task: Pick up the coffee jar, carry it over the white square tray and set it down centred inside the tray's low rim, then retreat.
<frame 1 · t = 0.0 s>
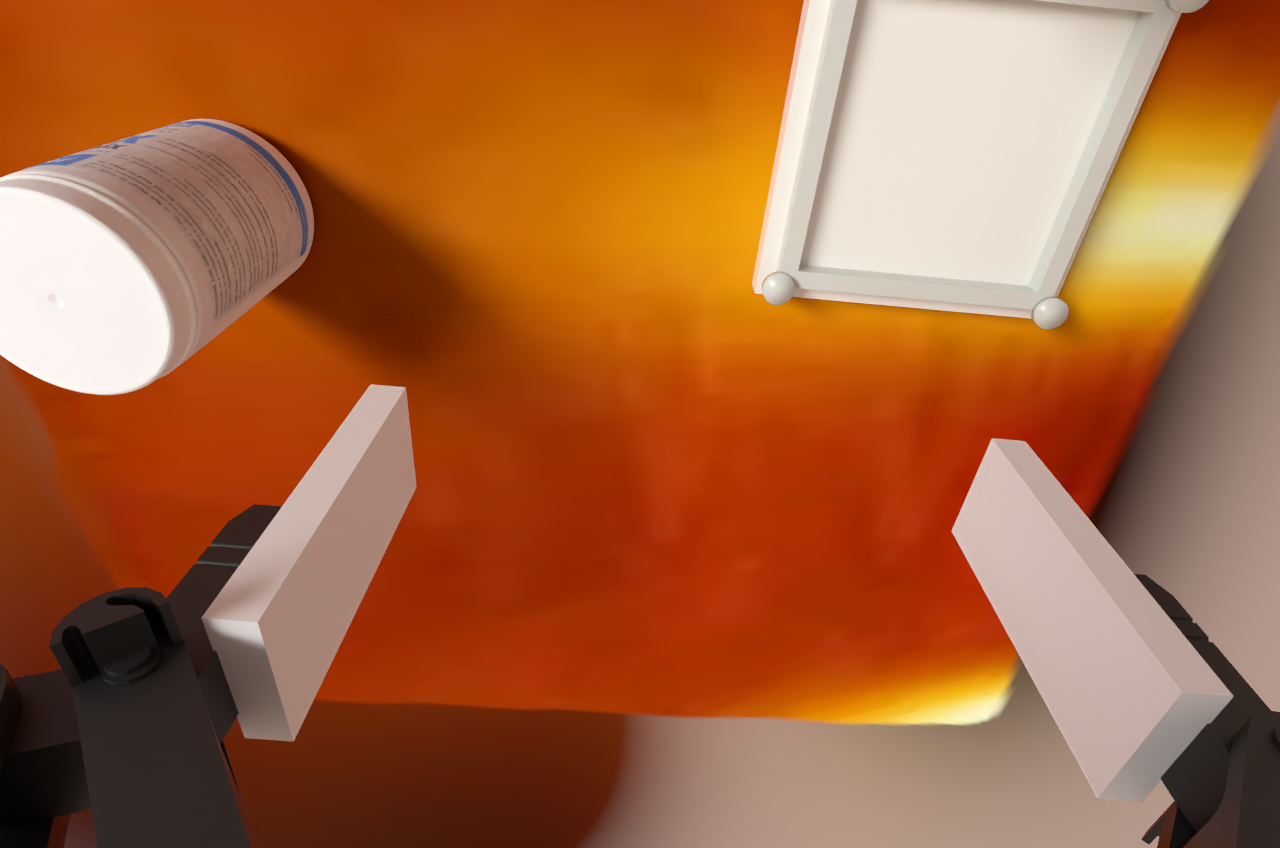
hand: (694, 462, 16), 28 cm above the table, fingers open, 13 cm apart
white square tray: (941, 144, 38), on the table
supplement tub: (240, 203, 41), on the table
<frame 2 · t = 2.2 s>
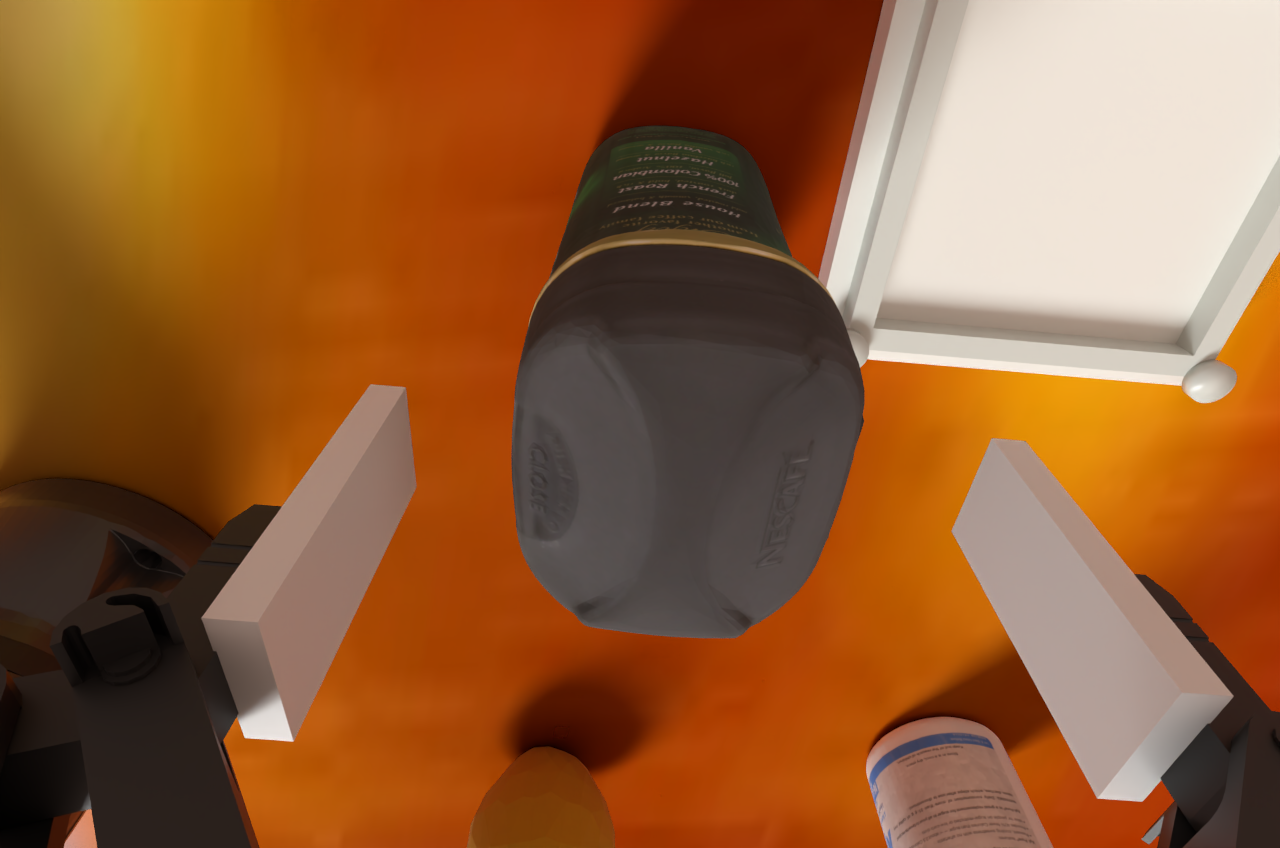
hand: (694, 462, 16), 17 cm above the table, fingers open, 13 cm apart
coffee jar: (663, 241, 30), on the table
white square tray: (1071, 156, 28), on the table
supplement tub: (930, 749, 49), on the table
apple: (552, 759, 50), on the table
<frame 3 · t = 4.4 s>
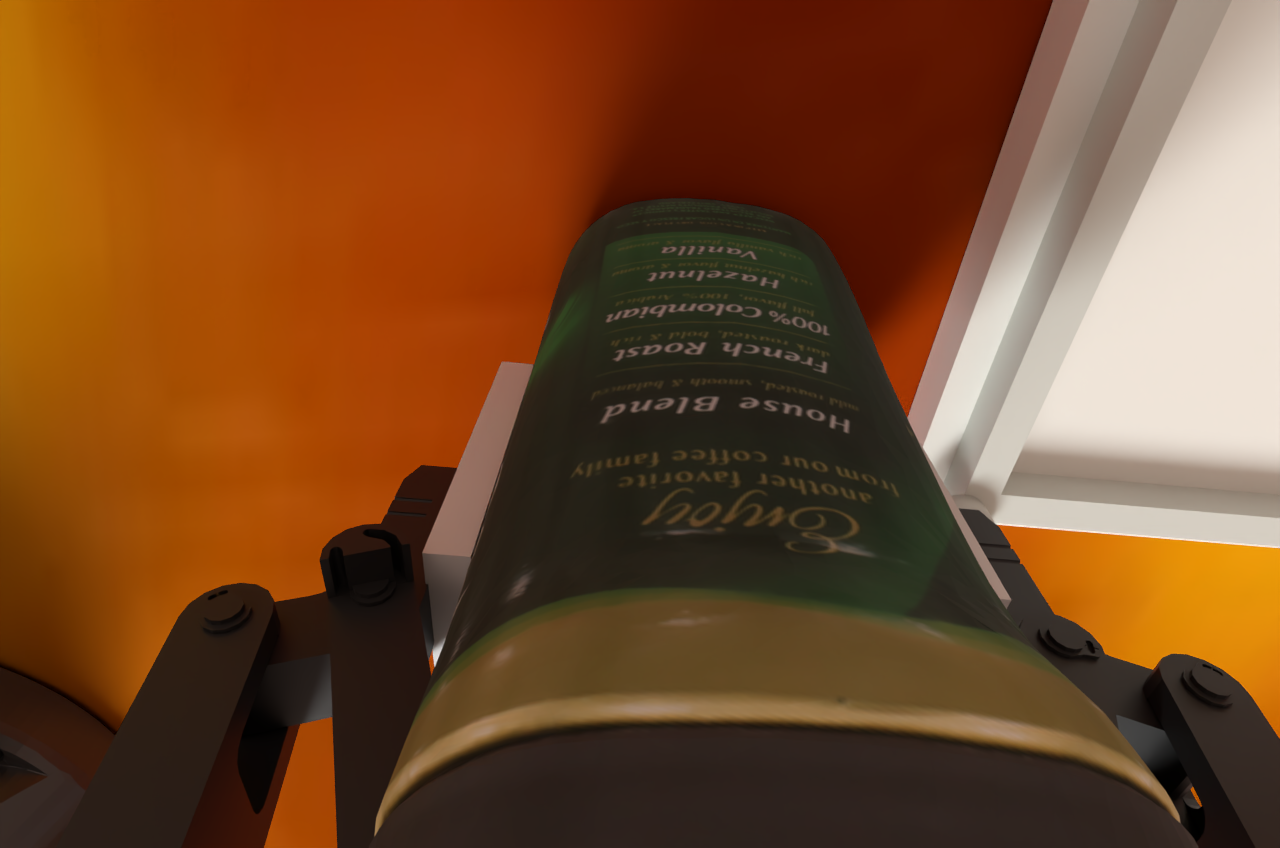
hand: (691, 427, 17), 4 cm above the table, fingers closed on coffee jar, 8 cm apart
coffee jar: (685, 355, 20), on the table, touching gripper
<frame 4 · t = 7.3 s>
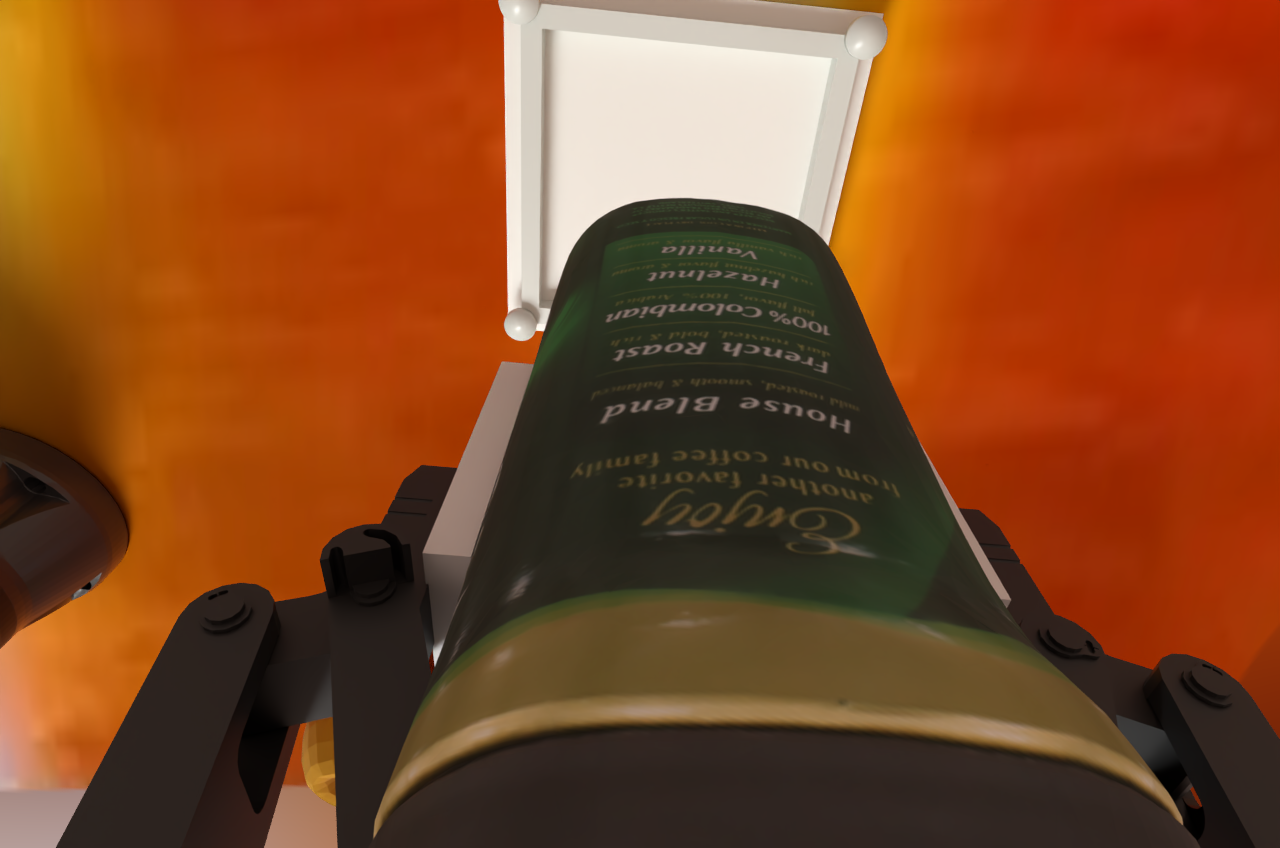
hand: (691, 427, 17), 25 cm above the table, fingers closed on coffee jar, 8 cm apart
coffee jar: (685, 355, 20), point 21 cm above the table, touching gripper
white square tray: (672, 183, 38), on the table
apple: (393, 668, 61), on the table
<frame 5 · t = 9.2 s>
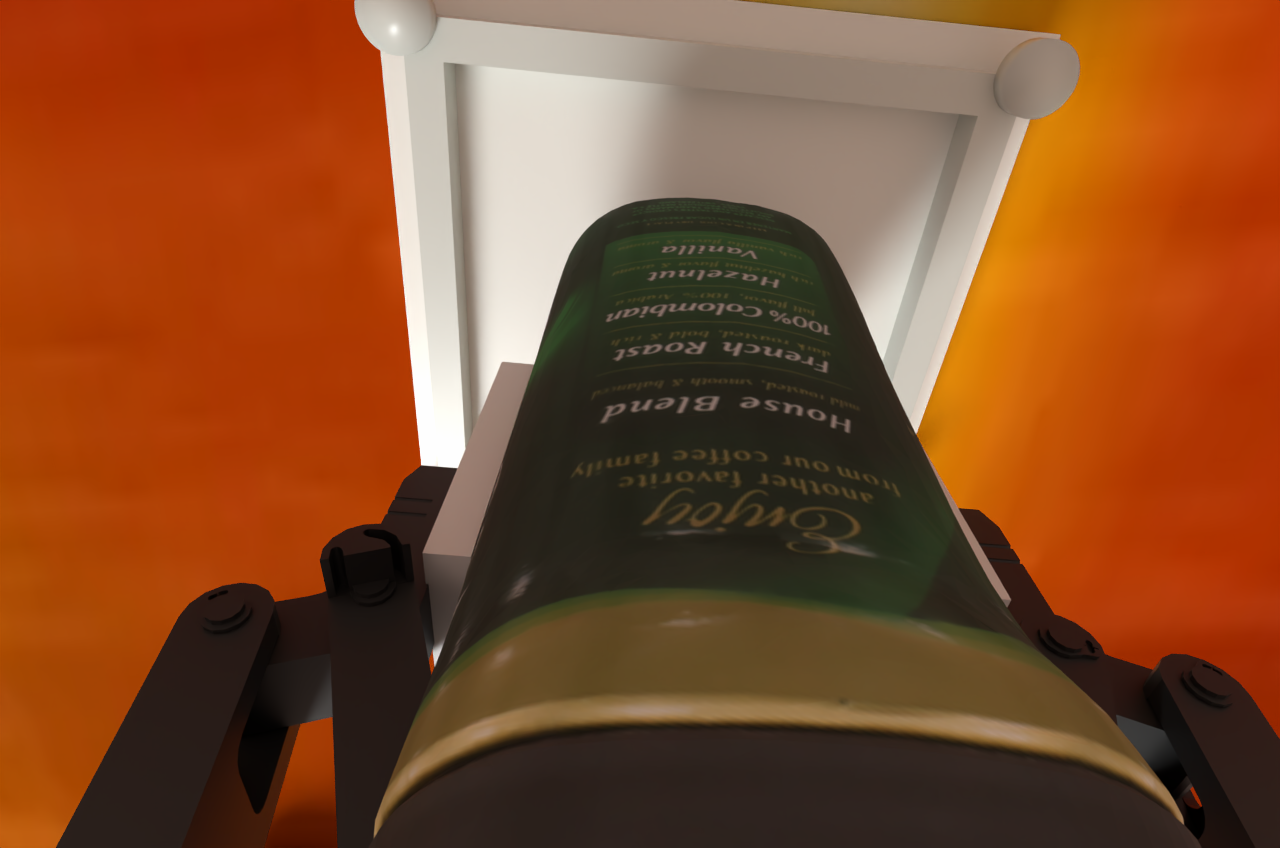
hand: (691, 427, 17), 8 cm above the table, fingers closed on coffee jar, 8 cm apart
coffee jar: (685, 355, 20), point 4 cm above the table, touching gripper
white square tray: (679, 301, 24), on the table
when the fingers open (6 cm above the table, at t = 10.7 s): coffee jar stays where it is, resting on white square tray.
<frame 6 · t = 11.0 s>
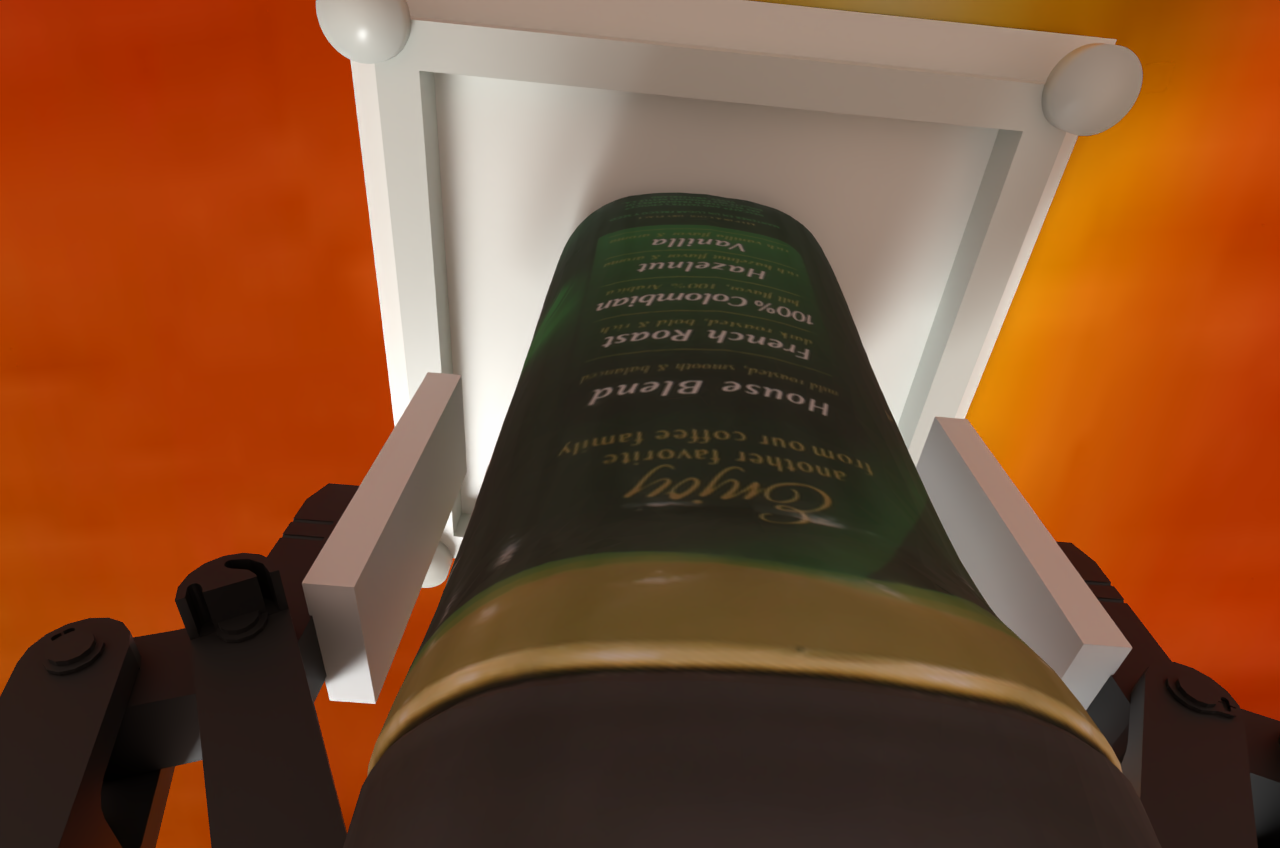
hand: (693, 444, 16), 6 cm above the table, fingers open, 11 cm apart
coffee jar: (678, 347, 21), point 1 cm above the table, touching white square tray
white square tray: (683, 330, 22), on the table
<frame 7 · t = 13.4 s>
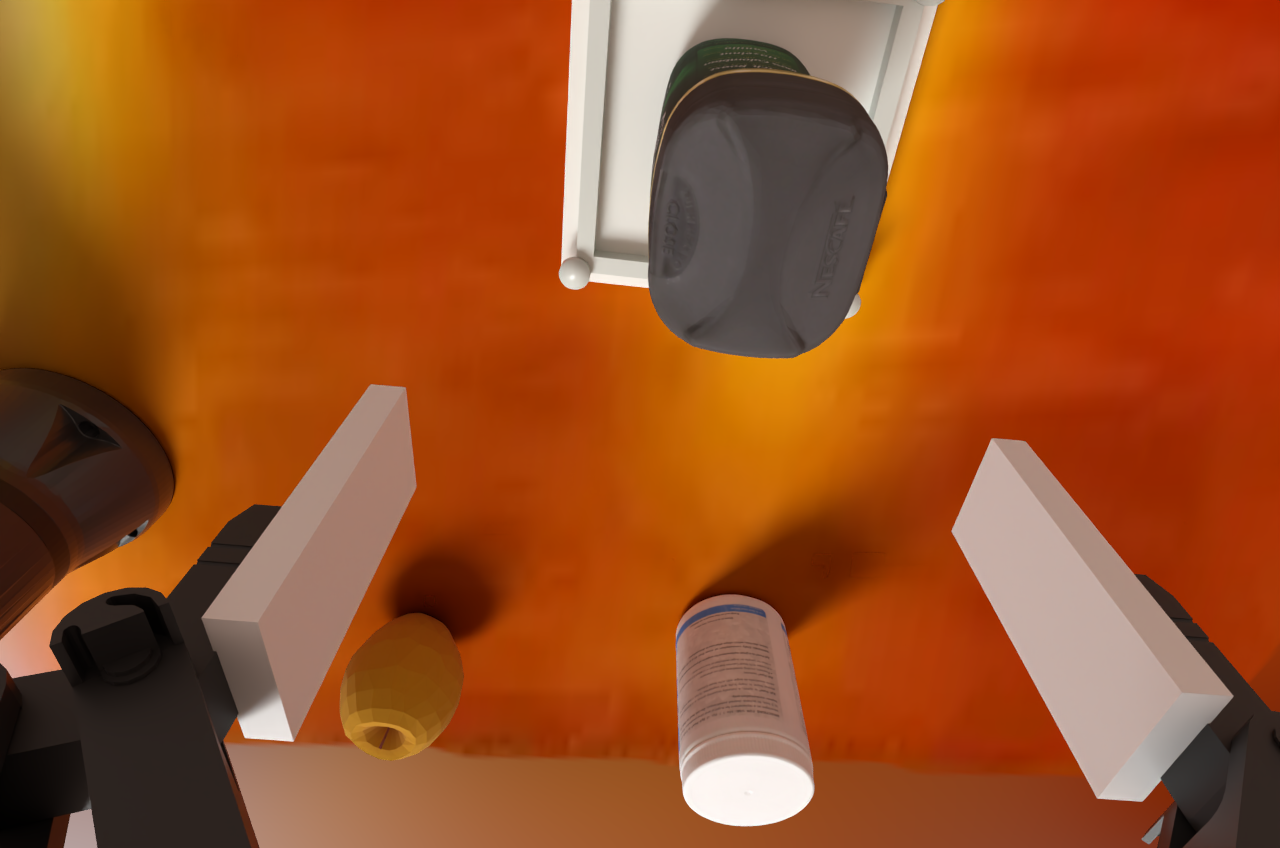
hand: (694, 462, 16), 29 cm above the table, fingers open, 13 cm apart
coffee jar: (727, 138, 38), point 1 cm above the table, touching white square tray
white square tray: (729, 134, 39), on the table
supplement tub: (730, 626, 61), on the table
apple: (426, 627, 62), on the table
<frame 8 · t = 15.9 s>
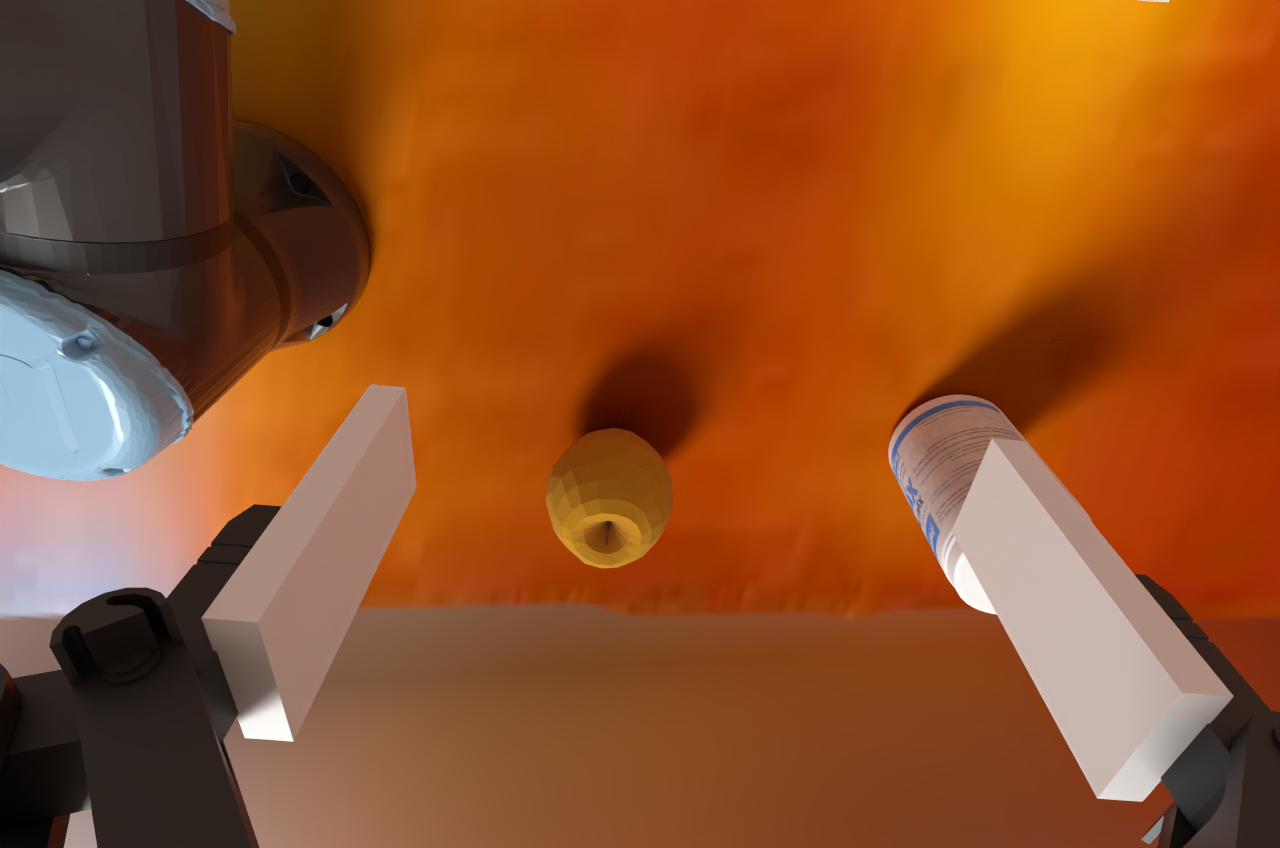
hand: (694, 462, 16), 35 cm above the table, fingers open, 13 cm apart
supplement tub: (944, 438, 57), on the table
apple: (614, 451, 58), on the table
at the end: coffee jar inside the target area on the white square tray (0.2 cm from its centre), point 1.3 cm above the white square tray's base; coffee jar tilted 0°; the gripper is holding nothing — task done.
